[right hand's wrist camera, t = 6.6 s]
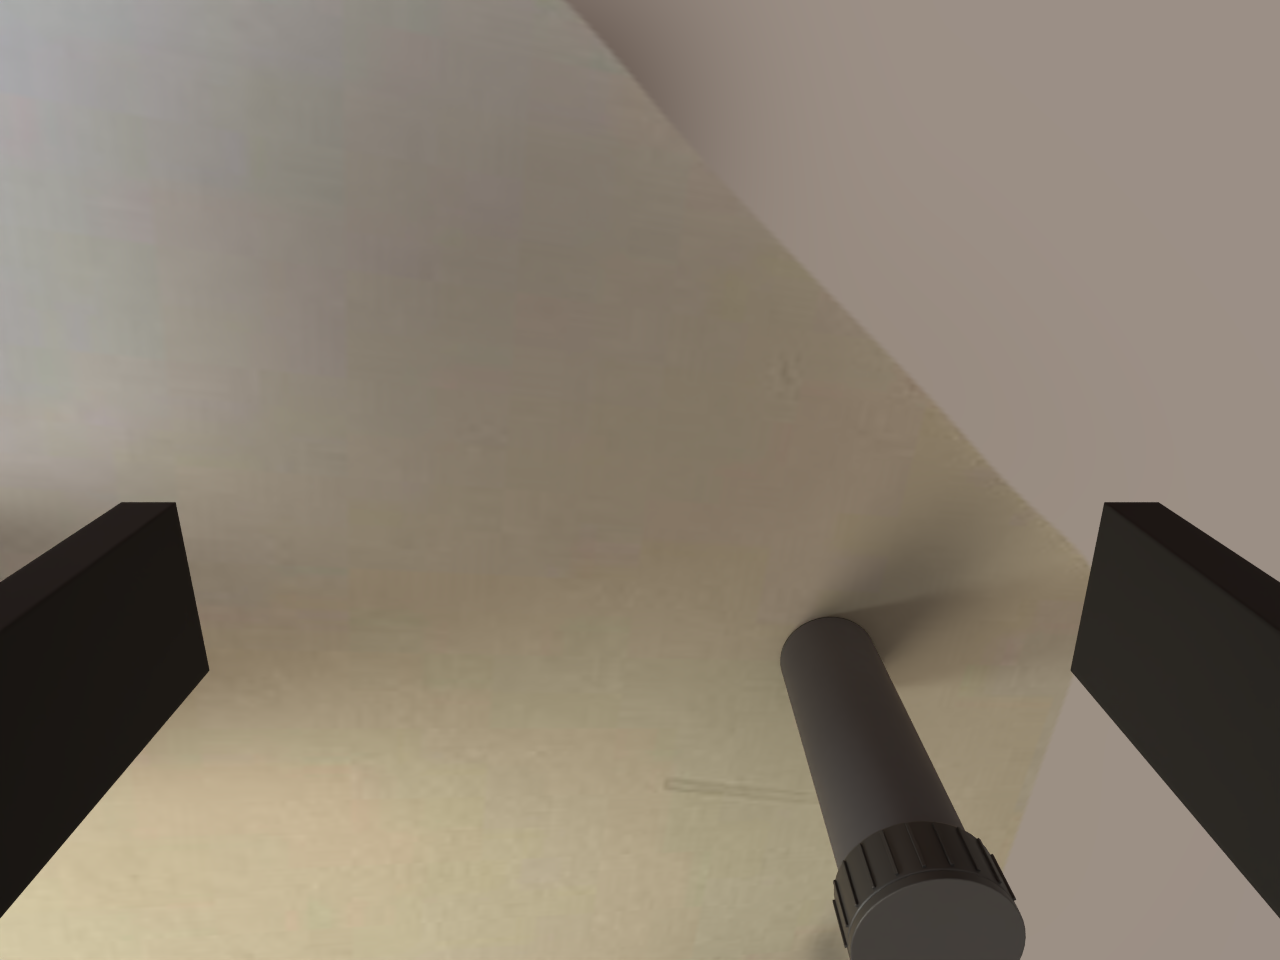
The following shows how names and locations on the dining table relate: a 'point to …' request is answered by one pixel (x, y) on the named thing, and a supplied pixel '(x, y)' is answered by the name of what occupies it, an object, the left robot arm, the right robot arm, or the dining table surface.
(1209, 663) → the right robot arm
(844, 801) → the dark grey cylinder
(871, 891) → the lid
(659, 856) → the dining table surface
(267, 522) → the dining table surface
